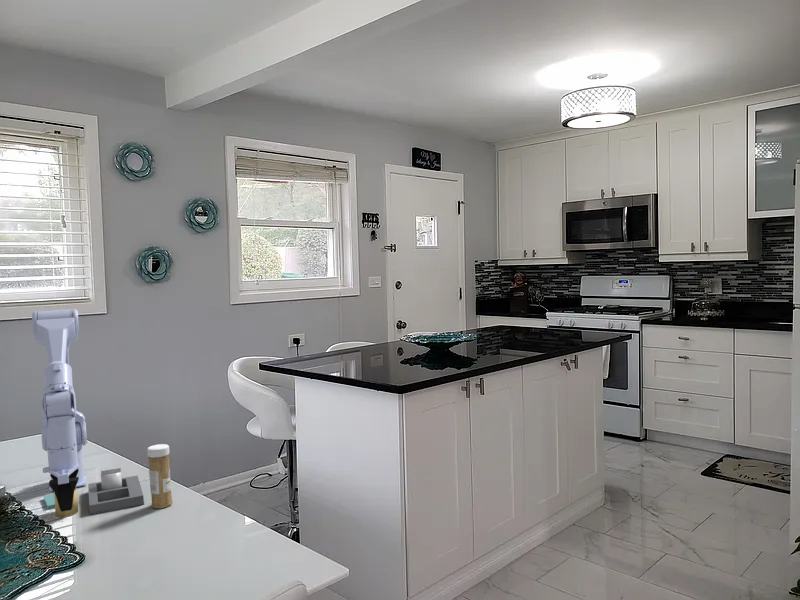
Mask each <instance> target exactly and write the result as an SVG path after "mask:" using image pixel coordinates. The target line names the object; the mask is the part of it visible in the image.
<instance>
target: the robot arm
mask: <svg viewBox="0 0 800 600" xmlns="http://www.w3.org/2000/svg"><path fill="white" fill-rule="evenodd" d="M31 323H32V333H33V336H34V339H35V341H36V343H37V344H39V345H43V346H45V347H46V352H47V358H48V365H46V366H45V367H44V368H43V370H42V372H43V374H42V376H43V379H42V380H43V395H41V400H40V401H41V402H40V403H41V406H40V407H41V414H42V418H43V419H42V421H41V432H40V433H41V443H42V444H41V446H42V447H41V448H42V450H44V451H45V452H47V462H48V463H47V464H48V466H46V467H45V466H44V467H43V468H42V473H43V474H44V473H45V474H46V473H49V477H50V479H49V481H48V486H49V489H48V491H49V492H54V493H55V495H56V498H57V501H58V505H59V508H60V510H61V512H63V511H68V510H72V506H73V496H74V490H75V487H76V488H81V487H86V486H87V475H86V473H85V472H84V459H83V447H84V446H86V444H88V435H87V423H86V418H85V415H84V413H82V412H80V411H78V410H77V399H76V393H75V389H74V386H73V369H72V366H71V365H70V360H69V356H70V355H69V351H70V347H71V344H72V343H75V342H77V341H78V340H79V337H80V334H79V332H80V325H79V312H78V309H76V308H71V309H68V308H66V309H54V310H34V311H33V312H32V314H31ZM54 493H53V494H54Z"/></svg>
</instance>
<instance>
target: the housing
mask: <svg viewBox="0 0 800 600" xmlns="http://www.w3.org/2000/svg"><path fill="white" fill-rule="evenodd" d="M121 478H122V488H117V489H112V490H106V491H102V485H101V481H97V482H93V483H87V484H88V486H87V487H88V504H89V515H95V514H99V513H101V514H102V513H105V512H111V511H115V510H121V509H125V508H132V507H136V506H141V505H144V504H145V502H144V501H145V500H144V497H145V496H144V494H143V490H142V486H141V484H140V483H141V482H140V480H139V479H140V478H139V476H138V475H132V476H126V477H121Z"/></svg>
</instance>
